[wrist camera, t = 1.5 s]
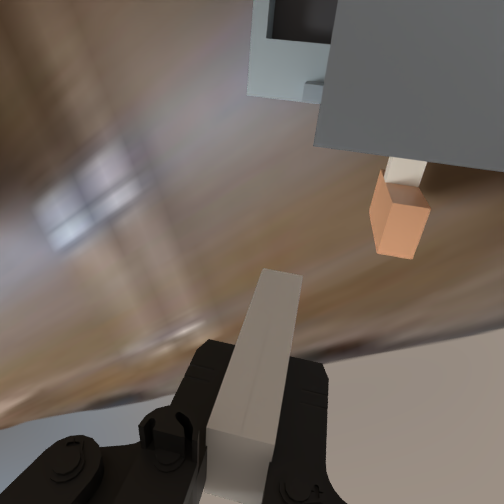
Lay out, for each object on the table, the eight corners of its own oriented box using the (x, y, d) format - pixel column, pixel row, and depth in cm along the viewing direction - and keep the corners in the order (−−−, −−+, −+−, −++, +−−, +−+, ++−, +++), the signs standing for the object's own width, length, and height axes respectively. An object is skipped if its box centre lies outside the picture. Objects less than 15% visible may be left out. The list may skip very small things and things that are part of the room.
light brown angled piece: (328, 204, 27) (325, 244, 21) (413, -201, 16) (450, -327, 11) (439, 221, 26) (467, 268, 20) (604, -200, 15) (754, -341, 10)
